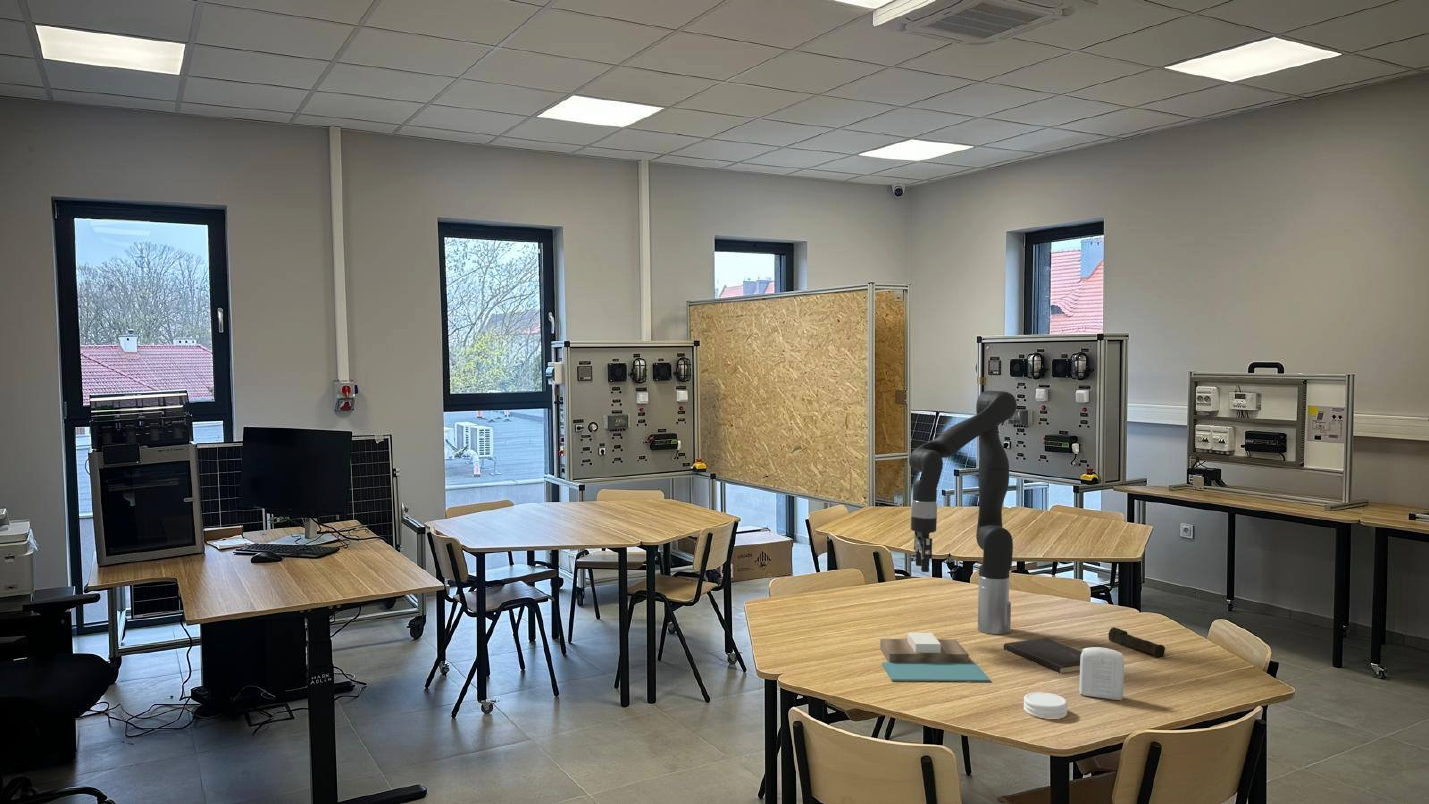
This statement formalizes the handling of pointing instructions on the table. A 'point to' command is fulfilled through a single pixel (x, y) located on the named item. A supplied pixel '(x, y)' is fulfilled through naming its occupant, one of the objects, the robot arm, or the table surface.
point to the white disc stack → (1045, 705)
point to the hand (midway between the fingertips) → (922, 568)
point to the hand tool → (1135, 642)
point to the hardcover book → (1047, 654)
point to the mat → (934, 671)
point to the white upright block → (1101, 673)
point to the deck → (904, 653)
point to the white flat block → (924, 643)
